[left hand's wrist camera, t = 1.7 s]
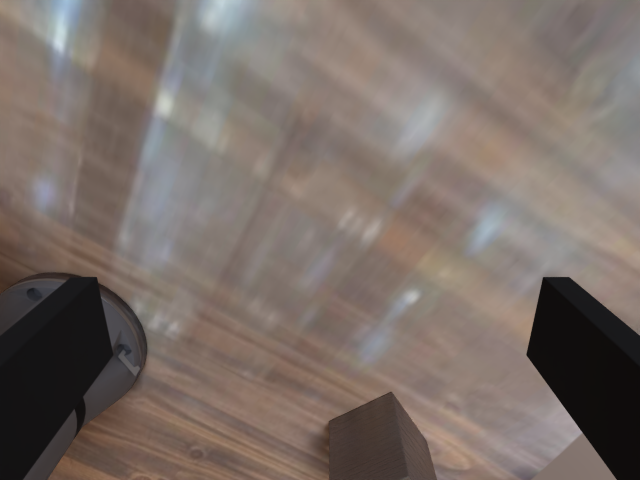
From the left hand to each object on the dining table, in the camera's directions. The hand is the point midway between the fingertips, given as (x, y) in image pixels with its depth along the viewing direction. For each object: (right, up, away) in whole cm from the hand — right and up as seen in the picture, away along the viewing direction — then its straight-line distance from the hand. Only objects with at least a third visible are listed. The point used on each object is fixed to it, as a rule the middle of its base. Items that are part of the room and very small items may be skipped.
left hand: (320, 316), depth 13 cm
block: (+6, -19, +35) cm, 40 cm away
